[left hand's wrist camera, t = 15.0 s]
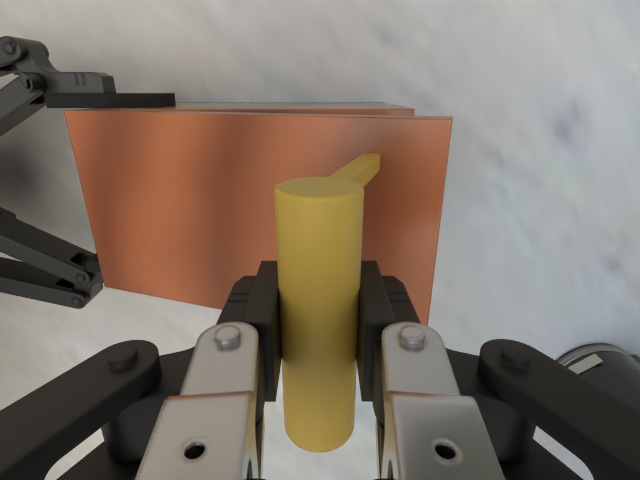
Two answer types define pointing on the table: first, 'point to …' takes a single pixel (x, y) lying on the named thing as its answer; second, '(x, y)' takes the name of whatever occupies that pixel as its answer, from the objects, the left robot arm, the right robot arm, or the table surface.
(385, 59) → the table surface
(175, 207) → the lid
